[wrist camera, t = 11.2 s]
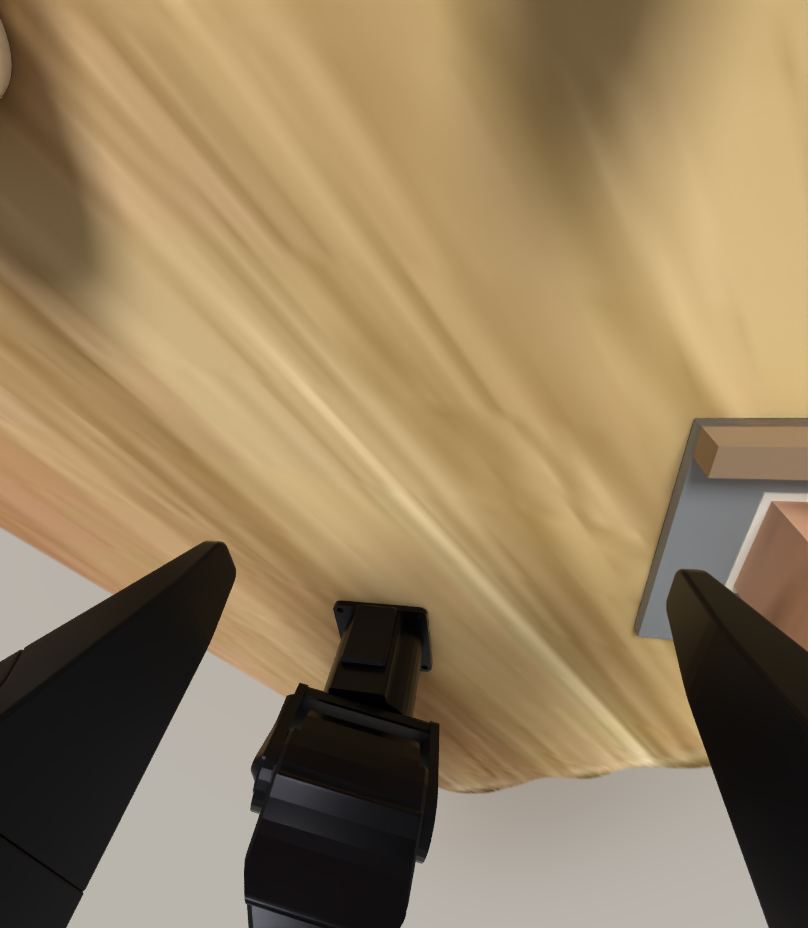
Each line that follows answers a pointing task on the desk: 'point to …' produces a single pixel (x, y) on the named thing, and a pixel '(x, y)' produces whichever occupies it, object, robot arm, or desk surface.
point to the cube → (779, 570)
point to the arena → (723, 503)
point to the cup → (4, 61)
